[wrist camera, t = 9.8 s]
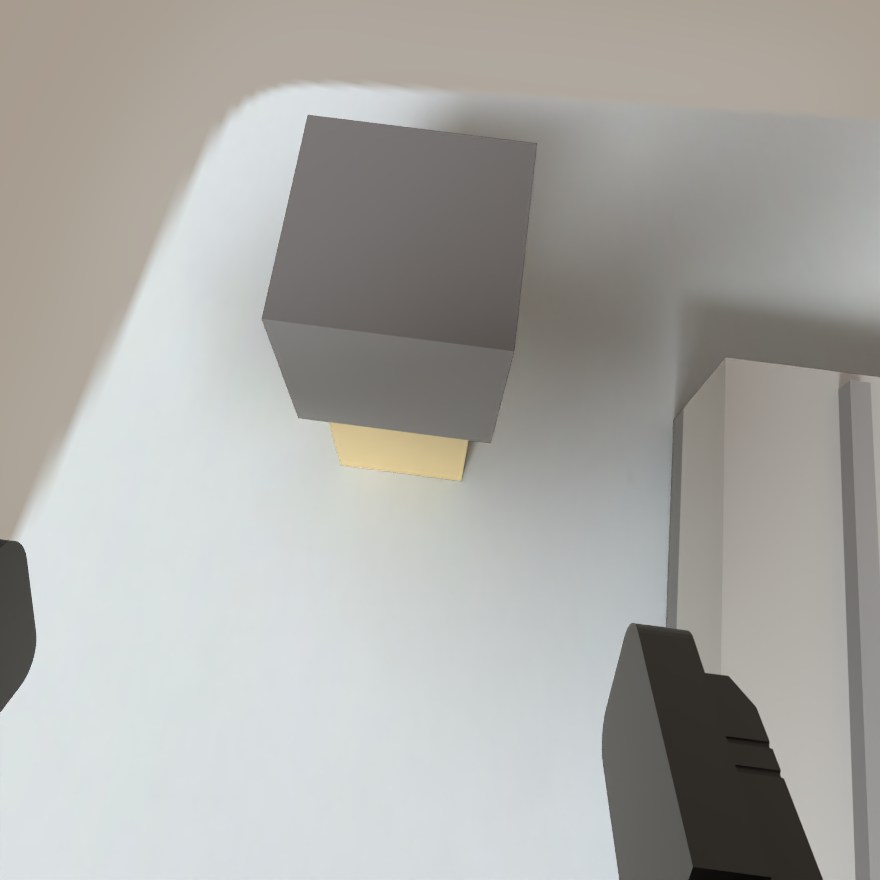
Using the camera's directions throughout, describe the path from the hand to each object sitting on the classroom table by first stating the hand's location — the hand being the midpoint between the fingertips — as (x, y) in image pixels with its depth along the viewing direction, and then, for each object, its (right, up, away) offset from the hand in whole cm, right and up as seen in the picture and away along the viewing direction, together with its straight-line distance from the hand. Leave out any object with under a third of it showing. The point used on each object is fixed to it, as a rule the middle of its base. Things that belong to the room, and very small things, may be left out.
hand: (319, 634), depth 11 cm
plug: (+1, +3, +14) cm, 15 cm away
